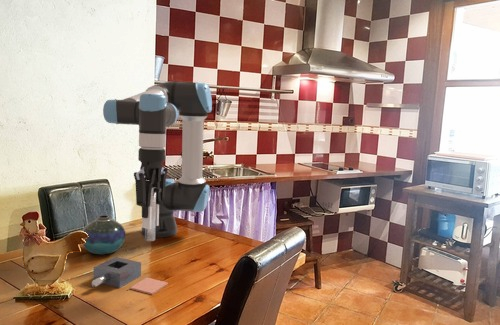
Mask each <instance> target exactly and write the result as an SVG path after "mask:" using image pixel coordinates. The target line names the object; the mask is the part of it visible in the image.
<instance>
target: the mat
mask: <svg viewBox="0 0 500 325" xmlns="http://www.w3.org/2000/svg"><path fill="white" fill-rule="evenodd" d="M168 284H169V283H168V281H163V280H159V279H154V278H150V277H144V278H143V279H142V280H140V281H137V283H135V284H133V285H132V286H130V287H129V289H130V290H131V291H132V290H133V291H136V292H140V293H143V294H147V295H151V296H152V295H155V294H156V293H158V291H161V290H162V289H163V288H165V287H166V286H168Z"/></svg>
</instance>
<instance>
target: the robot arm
mask: <svg viewBox="0 0 500 325" xmlns="http://www.w3.org/2000/svg"><path fill="white" fill-rule="evenodd" d="M212 106H213V100H212V92H211V89H210V86H209V85H208V84H207V83H205V82H198V81H196V82H195V81H194V82H191V81H189V82H188V81H165V82H161V83H158V84H157V83H156V84H154V85H151V86H149V87H147V88H146V89H145V91H142V92H140V93H137V94H135V95H131V96H129V97H126V98H123V99H116V98H114V99H107V100H106V101H105V102H104V104H103V108H102V114H103V118H104V120H105V121H106V123H108V124H116V125H134V126H136V125H138V146H139V149H138V155H137V156H138V158H137V159H138V161H140V163H141V164H140V168H139V169H140V170H139V171H138V172H137V171H134V173H133V177H134V180H135V201H136V203H135V204H136V206H139V207H140V208H141V234H142V235H143V236H145V228H146V229H151V217H152V207H150V199H151V190H152V186H155V187H157V188H161V192H160V193H156V223H155V239H157V238H160V239H161V238H169V237H172V236H175V235H176V234H177V233H178V225H177V223H176V218H175V215H174V212H175V211H178V212H179V211H180V212H181V211H182V212H192V213H196V212H197V213H199V212H200V213H201V212H204V211H205V210H206V208H207V205H208V201H209V197H210V192H211V191H210V185H209V184H207V180H206V179H205V178H204V177H203V171H204V170H203V168H204V167H203V164H204V162H203V161H204V159H203V158H204V122H205V120H206V119H207V117H208V113H209V114H210V113H211V112H212V109H213V107H212ZM179 118H180V119H181V120H182V134H181V135H182V136H181V137H182V144H181V146H182V147H181V149H182V150H181V177H180V178H178V179H177V182H175V179H174V178H167V175H168V174H167V173H168V170H169V169H168V168H167V167H163V163H164V162H165V161H166V150H165V148H166V140H167V138H166V136H167V135H166V132H167V131H166V130H167V127H170V126H172V125H174V124H175V123H176V122H177V120H178V119H179Z"/></svg>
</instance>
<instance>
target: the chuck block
mask: <svg viewBox="0 0 500 325" xmlns="http://www.w3.org/2000/svg"><path fill="white" fill-rule="evenodd" d="M139 277H142V262H140V261H137V260H132V259H128V258H124V257H119V256H115V257H113V258H111V259H108V260H106V261H104V262H102V263H99V264H97V265H95V266H94V267H93V280H92V281H91V286H92V287H94V288H96V287H98V286H100V285H102V284H103V285H107V286H110V287H114V288H118V289H121V288H122V287H124V286H126V285H128V284H130V283H132V282H133V281H134V280H136V279H138V278H139Z"/></svg>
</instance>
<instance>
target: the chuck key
mask: <svg viewBox="0 0 500 325" xmlns="http://www.w3.org/2000/svg"><path fill="white" fill-rule="evenodd" d="M160 192H161V188H157V187H155V186H152V190H151V199H150V207H152V217H151V229H146V228H145V235H144V241H145V242H154V241H155V240H156V238H155V223H156V193H160Z"/></svg>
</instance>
